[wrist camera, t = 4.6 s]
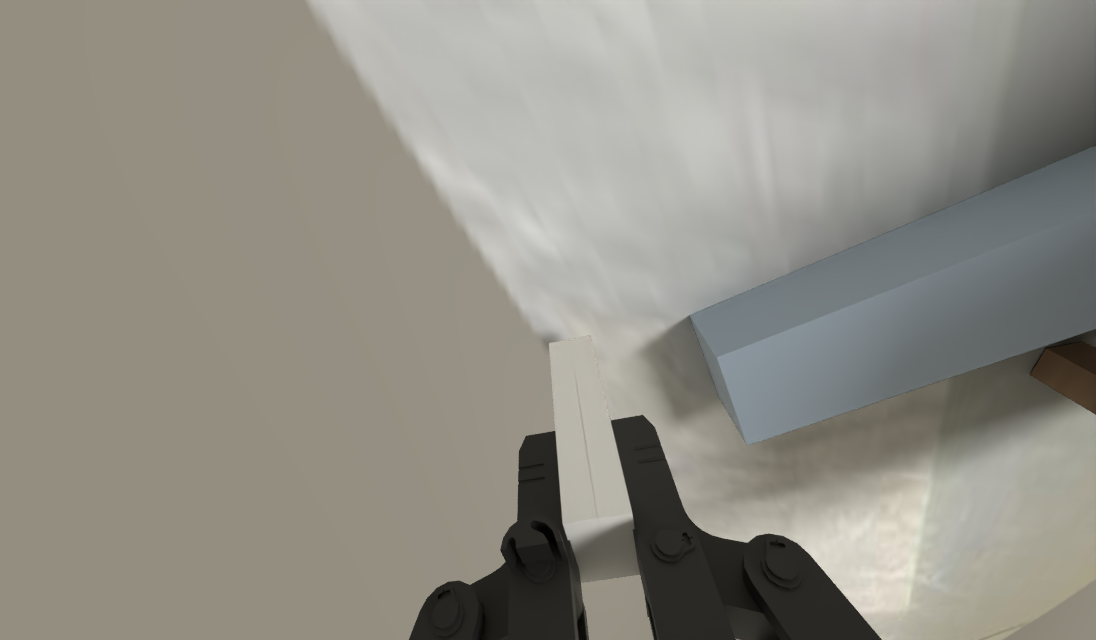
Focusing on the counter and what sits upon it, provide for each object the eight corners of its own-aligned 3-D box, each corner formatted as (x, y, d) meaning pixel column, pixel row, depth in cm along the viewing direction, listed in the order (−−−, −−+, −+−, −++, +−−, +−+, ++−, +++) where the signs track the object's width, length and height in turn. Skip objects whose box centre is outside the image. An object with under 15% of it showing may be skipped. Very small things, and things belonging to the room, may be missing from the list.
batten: (686, 310, 15) (717, 357, 13) (1148, 115, 12) (1309, 127, 10) (716, 392, 18) (747, 445, 15) (1107, 248, 15) (1227, 285, 12)
